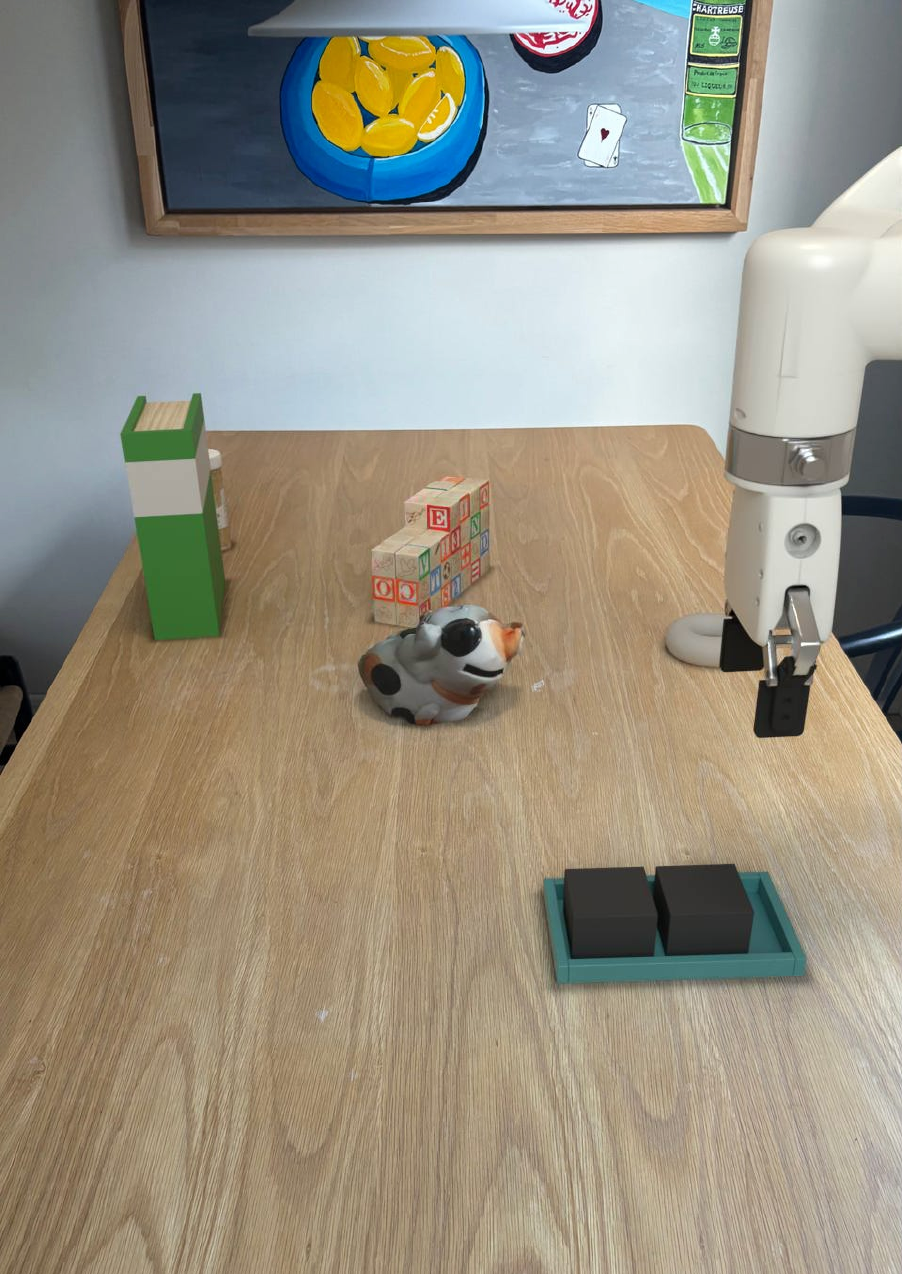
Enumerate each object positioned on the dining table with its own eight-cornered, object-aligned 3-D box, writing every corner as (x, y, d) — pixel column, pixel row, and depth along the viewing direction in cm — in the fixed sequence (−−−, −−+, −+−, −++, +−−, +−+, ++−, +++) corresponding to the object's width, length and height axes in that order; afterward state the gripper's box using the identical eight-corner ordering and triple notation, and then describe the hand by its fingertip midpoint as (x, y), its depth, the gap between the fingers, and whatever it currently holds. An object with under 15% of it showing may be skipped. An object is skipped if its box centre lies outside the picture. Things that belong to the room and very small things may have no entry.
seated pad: (640, 908, 89) (643, 866, 87) (653, 958, 84) (658, 914, 81) (562, 910, 89) (564, 868, 87) (571, 961, 84) (573, 917, 81)
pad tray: (764, 892, 91) (768, 871, 90) (802, 981, 82) (806, 958, 81) (542, 899, 91) (543, 878, 90) (556, 989, 82) (557, 966, 81)
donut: (743, 680, 123) (762, 642, 131) (747, 650, 122) (766, 614, 129) (653, 665, 127) (676, 629, 135) (655, 636, 125) (679, 601, 133)
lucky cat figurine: (453, 661, 128) (511, 565, 119) (499, 741, 122) (563, 646, 113) (337, 657, 119) (390, 553, 111) (380, 743, 113) (439, 640, 105)
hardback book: (167, 587, 149) (137, 396, 137) (225, 583, 150) (200, 393, 137) (155, 642, 134) (120, 434, 122) (219, 638, 135) (191, 430, 122)
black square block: (729, 905, 89) (734, 863, 87) (748, 955, 84) (754, 912, 82) (651, 908, 89) (655, 865, 87) (665, 958, 84) (670, 914, 81)
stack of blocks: (420, 632, 136) (416, 530, 129) (373, 624, 138) (367, 524, 131) (490, 571, 152) (490, 478, 145) (447, 564, 154) (445, 473, 148)
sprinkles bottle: (197, 555, 159) (183, 457, 152) (201, 544, 163) (187, 448, 156) (230, 553, 160) (218, 456, 152) (233, 542, 163) (221, 447, 156)
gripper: (900, 494, 63) (853, 761, 73) (807, 415, 78) (778, 645, 87) (764, 500, 63) (734, 767, 73) (697, 420, 78) (679, 650, 87)
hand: (758, 700), depth 80 cm, fingers open, 9 cm apart
